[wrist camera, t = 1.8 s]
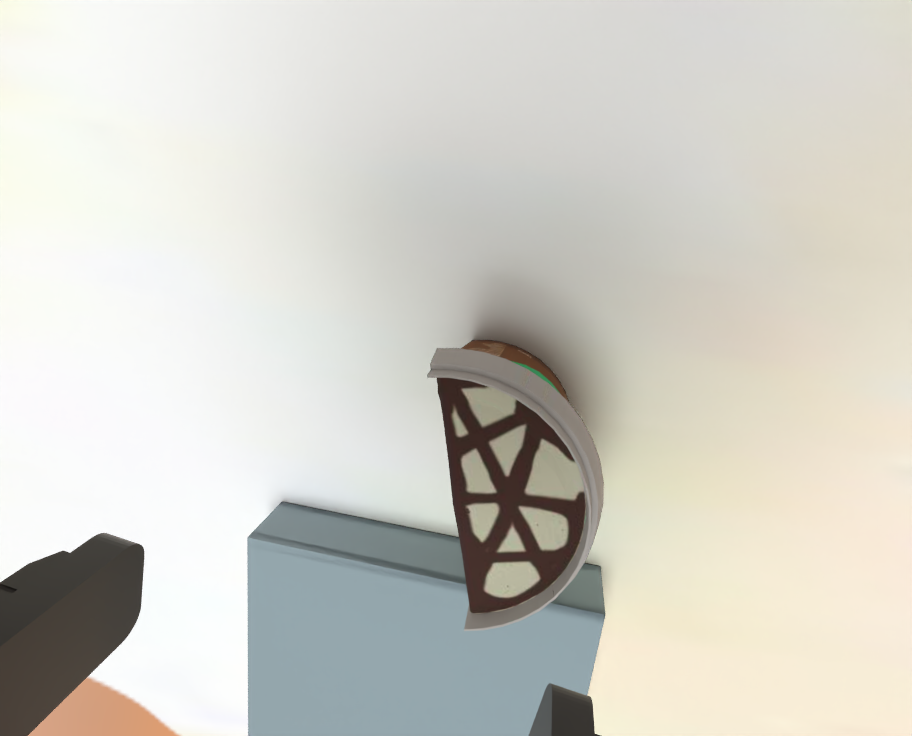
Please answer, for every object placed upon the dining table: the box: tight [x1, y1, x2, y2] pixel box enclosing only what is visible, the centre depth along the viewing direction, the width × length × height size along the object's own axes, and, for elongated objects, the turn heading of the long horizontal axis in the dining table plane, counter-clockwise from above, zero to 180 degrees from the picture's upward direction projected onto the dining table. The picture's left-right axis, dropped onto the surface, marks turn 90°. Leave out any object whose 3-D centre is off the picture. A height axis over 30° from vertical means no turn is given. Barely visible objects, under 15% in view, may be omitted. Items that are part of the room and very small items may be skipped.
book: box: [248, 502, 605, 736], centre depth 34 cm, size 20×15×4 cm
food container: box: [427, 340, 604, 631], centre depth 26 cm, size 12×6×10 cm, turn 7°
